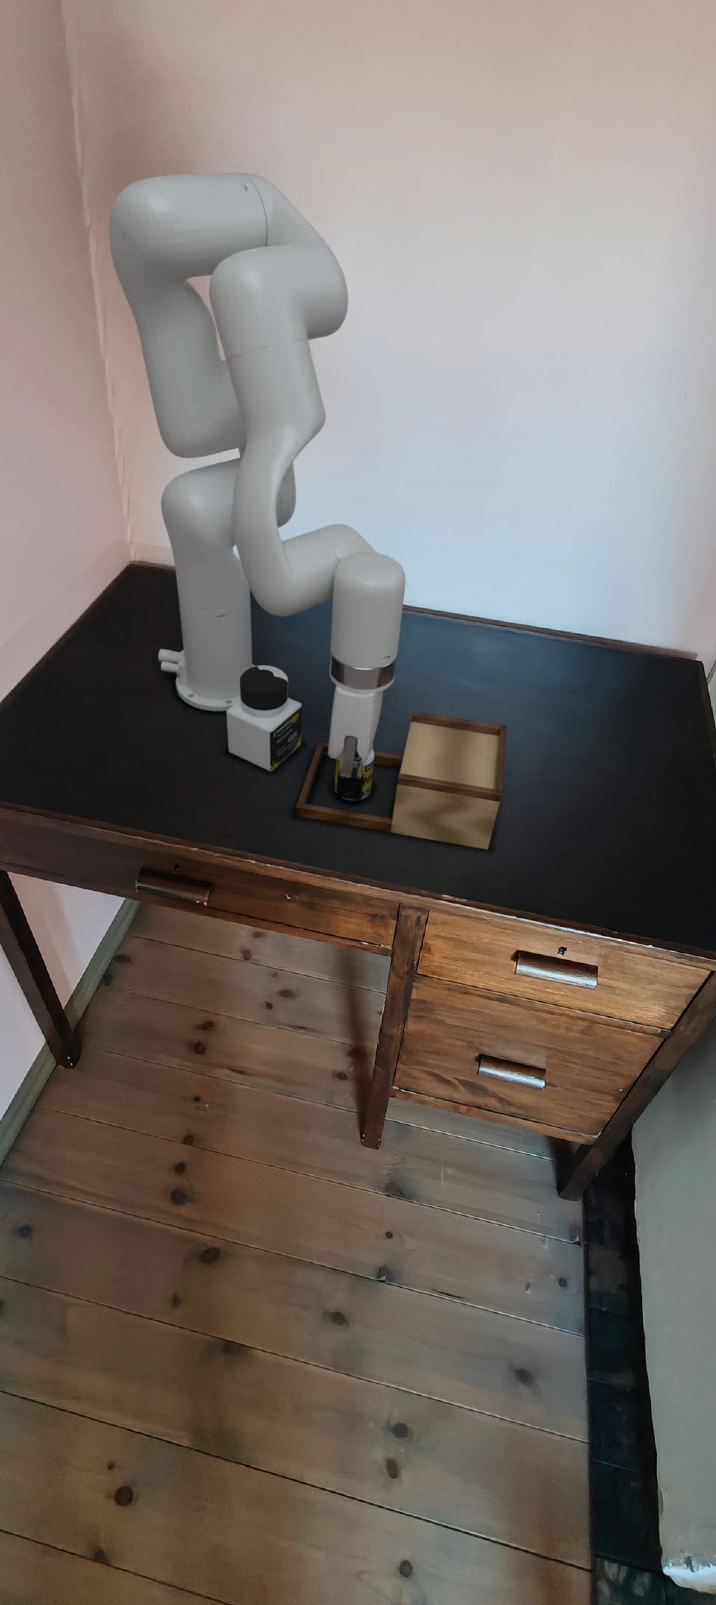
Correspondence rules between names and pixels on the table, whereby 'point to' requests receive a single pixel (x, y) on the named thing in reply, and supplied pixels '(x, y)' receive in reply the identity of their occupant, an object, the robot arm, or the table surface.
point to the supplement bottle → (366, 770)
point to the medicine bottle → (264, 718)
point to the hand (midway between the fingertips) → (353, 781)
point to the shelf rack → (434, 782)
